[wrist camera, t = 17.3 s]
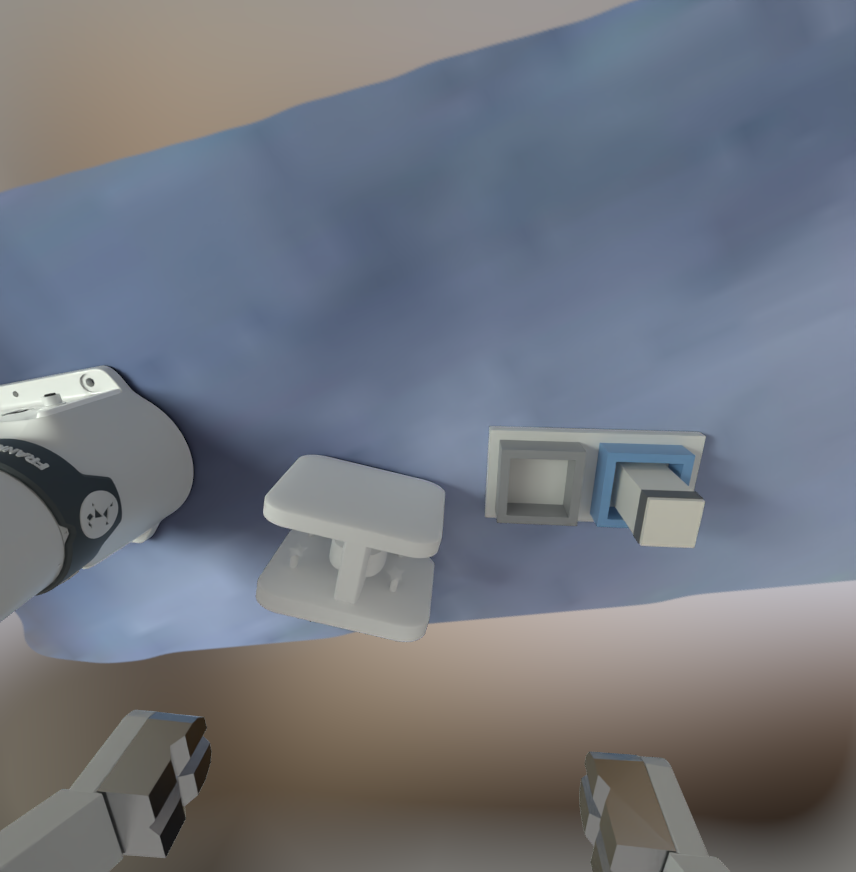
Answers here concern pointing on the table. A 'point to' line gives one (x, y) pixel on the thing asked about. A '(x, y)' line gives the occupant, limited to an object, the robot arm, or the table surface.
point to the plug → (656, 505)
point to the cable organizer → (353, 547)
